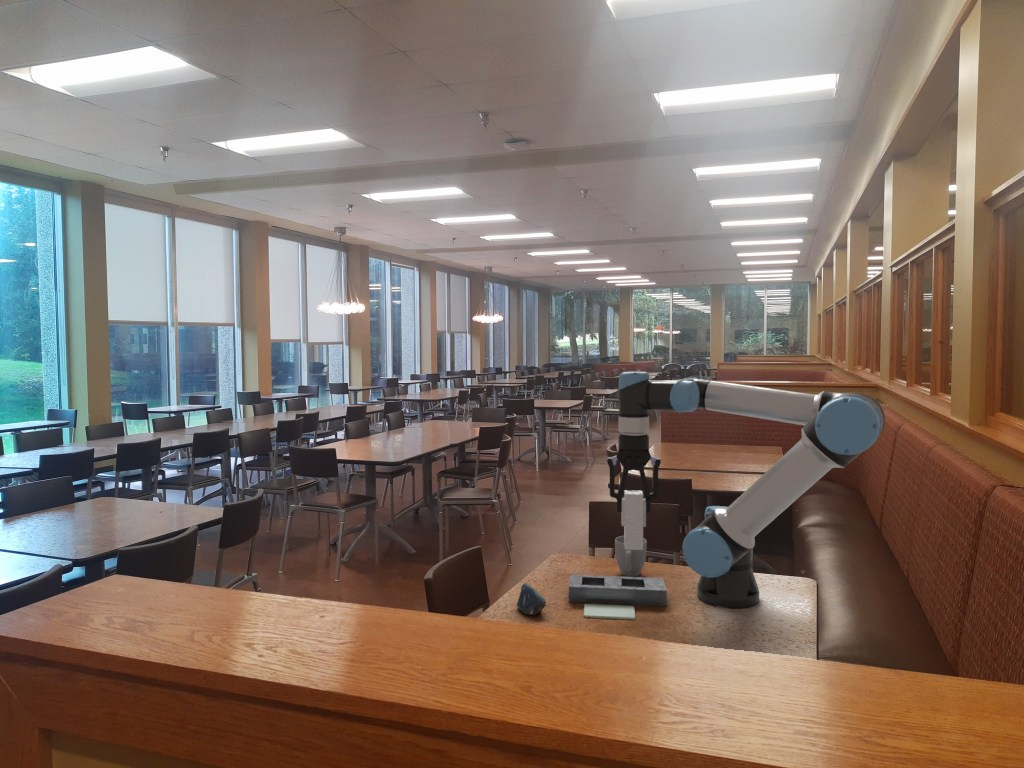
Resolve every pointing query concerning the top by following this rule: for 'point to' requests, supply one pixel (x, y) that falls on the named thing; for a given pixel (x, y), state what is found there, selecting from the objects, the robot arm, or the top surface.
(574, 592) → the grey hollow block
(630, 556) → the mug
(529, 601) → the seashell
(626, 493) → the steel peg
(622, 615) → the green pad
